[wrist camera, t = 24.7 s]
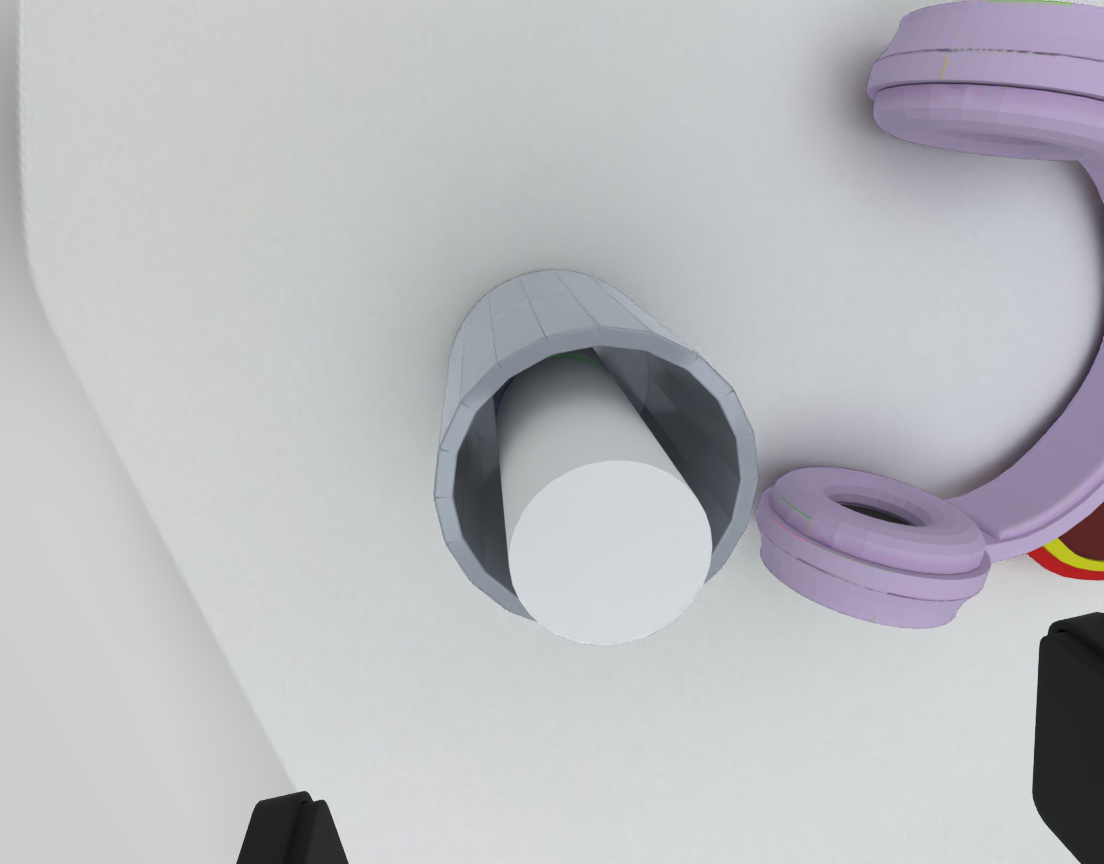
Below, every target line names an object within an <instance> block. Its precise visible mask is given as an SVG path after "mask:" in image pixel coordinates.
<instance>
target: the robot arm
mask: <svg viewBox="0 0 1104 864" xmlns="http://www.w3.org/2000/svg"><path fill="white" fill-rule="evenodd" d="M1032 793H1033V800H1034V803H1035V806H1036V808H1037V811H1038V813H1039V815H1040V816H1041V818H1042V820H1043V821H1044V822H1045V824H1046V825H1047V826H1048V827H1049V828H1050V829H1051V831H1052V832H1053V833H1054V834H1055V835H1056V836H1057V837H1058V838H1059V840H1060V841H1061V842H1062V843H1063V844H1064V845H1065V846H1066V847H1067V849H1068V850H1069V851H1070V852H1071V853H1072V854H1073V855H1074V856H1075V857H1076V859H1077V860H1078V861H1079V862H1080V863H1081V864H1104V613H1100V612H1095V613H1091V614H1086V615H1082V616H1077V617H1073V618H1068V619H1064V620H1060V621H1056V622H1054V623H1052V625H1051V626H1050V627H1049V631H1048V635H1047V636H1044V637H1043V638H1042V639H1041V641H1040V646H1039V665H1038V685H1037V706H1036V726H1035V747H1034V767H1033V788H1032ZM236 864H349V863H348V861H347V858H346V855H345V852H344V849H343V847H342V844H341V841H340V838H339V835H338V833H337V830H336V827H335V824H334V821H333V819H332V816H331V813H330V810H329V807H328V805H327V803H326V802H325V801H324V800H319V801H314V802H313V800H312V798H311V796H310V795H309V793H308V792H307V791H302V792H297V793H293V794H288V795H285V796H280V797H275V798H271V799H266V800H262V801H259V802H258V803H257V805H256V806H255V808H254V811H253V813H252V816H251V820H250V823H249V826H248V829H247V832H246V835H245V839H244V842H243V845H242V848H241V851H240V854H239V857H238V860H237V863H236Z"/></svg>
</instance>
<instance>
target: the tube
mask: <svg viewBox="0 0 1104 864" xmlns="http://www.w3.org/2000/svg"><path fill="white" fill-rule="evenodd" d="M493 401H494V411H495V422H496V433H497V444H498V454H499V465H500V476H501V486H502V497H503V508H504V519H505V529H506V540H507V551H508V561H509V569H510V574H511V580H512V584H513V587H514V589H515V591H516V594H517V596H518V598H519V600H520V602H521V603H522V605H523V606H524V607H525V609H526V610H527V612H528V613H529V614H530V615H531V616H532V617H533V618H534V619H535V620H536V621H537V622H538V623H539V624H540V625H542V626H543V627H545V628H546V629H548V630H550V631H551V632H553V633H554V634H556V635H558V636H561V637H563V638H566V639H569V640H571V641H574V642H578V643H584V644H591V645H617V644H622V643H627V642H633V641H636V640H639V639H641V638H644V637H647V636H649V635H652V634H653V633H655V632H657V631H659V630H661V629H663V628H664V627H666V626H667V625H669V624H670V623H671V622H672V621H674V620H675V619H676V618H678V617H679V616H680V615H681V614H682V613H683V612H684V611H685V610H686V609H687V607H688V606H689V605H690V604H691V603H692V602H693V601H694V599H695V598H696V596H697V594H698V593H699V591H700V589H701V587H702V586H703V584H704V582H705V579H706V576H707V573H708V570H709V567H710V563H711V554H712V538H711V529H710V525H709V522H708V519H707V516H706V513H705V511H704V509H703V508H702V506H701V504H700V502H699V501H698V499H697V497H696V496H695V494H694V493H693V492H692V490H691V489H690V487H689V486H688V484H687V483H686V482H685V480H684V479H683V477H682V476H681V474H680V473H679V471H678V470H677V469H676V467H675V466H674V464H673V463H672V461H671V460H670V458H669V457H668V456H667V454H666V453H665V451H664V450H663V448H662V447H661V446H660V444H659V443H658V441H657V440H656V438H655V437H654V435H653V434H652V433H651V431H650V430H649V428H648V427H647V425H646V424H645V422H644V421H643V420H642V418H641V417H640V415H639V414H638V412H637V411H636V410H635V408H634V407H633V405H632V404H631V402H630V401H629V399H628V398H627V397H626V395H625V394H624V392H623V391H622V389H621V388H620V386H619V385H618V383H617V382H616V381H615V379H614V378H613V376H612V375H611V373H610V372H609V371H608V369H607V368H606V366H605V365H604V363H603V362H602V360H601V359H600V358H599V356H598V355H597V353H596V352H595V350H594V349H593V347H590V348H585V349H579V350H574V351H569V352H564V353H559V354H554V355H551V356H549V357H547V358H546V359H544V360H542V361H540V362H538V363H536V364H535V365H533V366H531V367H529V368H527V369H525V370H524V371H522V372H520V373H518V374H516V375H514V376H513V377H511V378H509V379H508V380H507V381H506V382H505V383H504V384H503V386H502V387H501V388H500V389H499V390H498V391H497V392H496V393H495V394H494V395H493Z"/></svg>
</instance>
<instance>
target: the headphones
mask: <svg viewBox="0 0 1104 864" xmlns="http://www.w3.org/2000/svg"><path fill="white" fill-rule="evenodd" d="M866 94H867V96H868V97H869V98H871V99H872V100H874V101H875V102H874V107H873V117H874V119H875V121H876V123H877V124H878V126H879V127H880V128H882V129H883V130H884V131H886V132H888V133H889V134H891V135H892V136H894V137H897V138H899V139H902V140H905V141H909V142H913V143H917V144H921V145H926V146H931V147H936V148H941V149H948V150H954V151H960V152H967V153H975V154H982V155H991V156H1000V157H1010V158H1023V159H1036V160H1078V161H1079V163H1080V164H1081V165H1082V166H1083V167H1084V168H1085V169H1086V170H1087V171H1088V173H1089V175H1090V177H1091V178H1092V180H1093V182H1094V183H1095V185H1096V187H1097V189H1098V192H1099V194H1100V197H1101V199H1102V202H1103V205H1104V8H1102V7H1097V6H1091V5H1084V4H1076V3H1068V2H1057V1H1044V0H971V1H961V2H952V3H945V4H939V5H934V6H929V7H925V8H922V9H919V10H916V11H913V12H911V13H909V14H907V15H906V16H904V17H903V18H902V20H901V21H900V25H899V29H898V31H897V33H896V35H895V36H894V38H893V40H892V42H891V44H890V45H889V47H888V48H887V50H886V51H885V52H884V53H883V54H882V55H881V56H880V58H879V59H878V60H877V61H876V62H875V63H874V65H873V66H872V70H871V74H870V78H869V82H868V86H867V89H866ZM756 521H757V524H758V527H759V530H760V533H761V540H762V545H761V549H760V555H761V558H762V561H763V563H764V564H765V566H766V567H767V568H768V570H769V571H770V572H771V573H772V574H773V575H774V576H775V577H776V578H778V579H779V580H780V581H781V582H782V583H784V584H785V585H787V586H788V587H789V588H791V589H792V590H794V591H796V592H797V593H799V594H801V595H802V596H804V597H806V598H808V599H810V600H812V601H814V602H816V603H818V604H820V605H823V606H825V607H827V608H829V609H832V610H835V611H837V612H840V613H842V614H845V615H848V616H851V617H854V618H857V619H861V620H865V621H869V622H872V623H877V624H882V625H887V626H893V627H900V628H913V629H920V628H933V627H938V626H942V625H945V624H947V623H949V622H950V621H952V620H953V619H954V617H955V616H956V613H957V610H958V609H959V608H960V607H961V606H962V604H963V603H964V602H965V601H967V600H968V599H970V598H971V597H973V596H974V595H976V594H977V593H979V592H980V590H981V589H982V588H983V585H984V583H985V580H986V577H987V575H988V572H989V569H990V566H991V563H993V562H998V561H1002V560H1006V559H1010V558H1013V557H1016V556H1020V555H1023V554H1028V555H1029V556H1030V557H1031V558H1033V559H1034V560H1035V561H1036V562H1037V563H1039V564H1040V565H1041V566H1042V567H1044V568H1045V569H1047V570H1049V571H1051V572H1054V573H1056V574H1058V575H1061V576H1063V577H1069V578H1074V579H1082V580H1104V337H1103V340H1102V344H1101V347H1100V350H1099V352H1098V354H1097V356H1096V359H1095V361H1094V363H1093V365H1092V367H1091V370H1090V372H1089V373H1088V375H1087V377H1086V379H1085V380H1084V382H1083V384H1082V385H1081V387H1080V389H1079V390H1078V392H1077V393H1076V395H1075V396H1074V398H1073V399H1072V401H1071V402H1070V404H1069V405H1068V406H1067V408H1066V409H1065V411H1064V412H1063V414H1062V415H1061V416H1060V417H1059V418H1058V419H1057V421H1056V422H1055V423H1054V424H1053V425H1052V426H1051V427H1050V429H1049V430H1048V431H1047V432H1046V433H1045V434H1044V435H1043V436H1042V438H1041V439H1040V440H1039V441H1038V442H1037V443H1036V444H1035V445H1034V446H1033V447H1032V448H1031V449H1030V450H1029V451H1028V452H1027V453H1026V454H1025V455H1024V456H1023V457H1022V458H1021V459H1020V460H1018V461H1017V462H1016V463H1015V464H1014V465H1013V466H1012V467H1010V468H1009V469H1008V470H1006V471H1005V472H1003V473H1002V474H1001V475H999V476H998V477H996V478H995V479H993V480H992V481H990V482H988V483H986V484H985V485H983V486H981V487H979V488H977V489H975V490H974V491H971V492H969V493H967V494H964V495H962V496H959V497H957V498H949V499H947V500H943V499H941V498H939V497H937V496H935V495H933V494H931V493H929V492H927V491H924V490H921V489H919V488H916V487H914V486H911V485H909V484H906V483H903V482H900V481H896V480H893V479H890V478H887V477H883V476H879V475H875V474H871V473H867V472H862V471H856V470H851V469H844V468H834V467H808V468H801V469H796V470H792V471H791V472H789V473H787V474H785V475H784V476H782V477H781V478H779V479H778V480H777V481H776V483H775V485H774V486H771V487H769V488H767V489H766V490H765V491H764V492H763V493H762V495H761V498H760V502H759V506H758V510H757V513H756Z"/></svg>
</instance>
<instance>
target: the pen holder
mask: <svg viewBox="0 0 1104 864" xmlns="http://www.w3.org/2000/svg"><path fill="white" fill-rule="evenodd" d="M590 347H593V349H594V350H595V352H596V353H597V355H598V356H599V358H600V359H601V360H602V362H603V363H604V365H605V366H606V368H607V369H608V371H609V372H610V373H611V375H612V376H613V378H614V379H615V381H616V382H617V383H618V385H619V386H620V388H621V389H622V391H623V392H624V394H625V395H626V397H627V398H628V399H629V401H630V402H631V404H632V405H633V407H634V408H635V410H636V411H637V412H638V414H639V415H640V417H641V418H642V420H643V421H644V422H645V424H646V425H647V427H648V428H649V430H650V431H651V433H652V434H653V435H654V437H655V438H656V440H657V441H658V443H659V444H660V446H661V447H662V448H663V450H664V451H665V453H666V454H667V456H668V457H669V458H670V460H671V461H672V463H673V464H674V466H675V467H676V469H677V470H678V471H679V473H680V474H681V476H682V477H683V479H684V480H685V482H686V483H687V484H688V486H689V487H690V489H691V490H692V492H693V493H694V494H695V496H696V497H697V499H698V501H699V502H700V504H701V506H702V508H703V509H704V511H705V513H706V516H707V519H708V522H709V525H710V529H711V538H712V554H711V563H710V567H709V570H708V573H707V576H706V579H705V582H704V584H705V583H706V582H707V581H708V580H709V579H710V578H711V577H712V576H713V575H715V574H716V573H717V572H718V571H719V570H720V569H721V568H722V567H723V565H724V564H725V563H726V561H727V559H728V558H729V556H730V554H731V553H732V551H733V549H734V548H735V546H736V544H737V543H738V541H739V539H740V538H741V536H742V534H743V532H744V531H745V529H746V527H747V525H748V523H749V518H750V514H751V510H752V505H753V501H754V497H755V493H756V488H757V484H758V468H757V458H756V447H755V437H754V433H753V429H752V427H751V425H750V422H749V420H748V418H747V416H746V414H745V412H744V410H743V407H742V405H741V403H740V401H739V399H738V397H737V395H736V393H735V391H734V390H733V388H732V387H731V386H730V385H729V384H728V383H727V382H726V381H725V380H724V379H723V378H722V377H721V376H720V375H719V374H718V373H717V372H716V371H715V369H714V368H713V367H712V366H711V365H710V364H709V363H708V362H707V361H706V360H705V359H704V358H703V357H702V356H701V355H699V354H698V353H697V352H695V351H694V350H693V349H692V348H690V347H689V346H688V345H687V344H685V343H684V342H683V341H682V340H680V339H679V338H678V337H677V336H675V335H674V334H673V333H672V332H670V331H669V330H668V329H667V328H665V327H664V326H663V325H662V324H660V323H659V322H658V321H656V320H655V319H654V318H653V317H651V316H650V315H649V314H648V313H646V312H645V311H644V310H643V309H641V308H640V307H639V306H638V305H636V304H635V303H634V302H633V301H631V300H630V299H629V298H628V297H626V296H625V295H624V294H622V293H621V292H620V291H618V290H616V289H614V288H613V287H611V286H609V285H608V284H606V283H604V282H603V281H601V280H598V279H596V278H594V277H591V276H589V275H585V274H582V273H578V272H573V271H566V270H544V271H536V272H532V273H528V274H524V275H520V276H518V277H516V278H513V279H511V280H508V281H506V282H505V283H503V284H501V285H499V286H498V287H496V288H494V289H493V290H492V291H491V292H489V293H488V294H487V295H485V296H484V297H483V298H482V299H481V300H480V301H479V302H478V303H477V304H476V305H475V306H474V307H473V309H472V310H471V311H470V312H469V314H468V315H467V316H466V318H465V320H464V321H463V323H462V325H461V327H460V328H459V330H458V333H457V335H456V338H455V340H454V343H453V347H452V350H451V353H450V358H449V366H448V374H447V382H446V390H445V398H444V406H443V414H442V422H441V430H440V438H439V446H438V455H437V465H436V475H435V485H434V502H435V506H436V510H437V514H438V518H439V522H440V526H441V530H442V534H443V538H444V541H445V543H446V546H447V547H448V549H449V550H450V552H451V553H452V555H453V556H454V558H455V559H456V561H457V562H458V564H459V565H460V567H461V568H462V570H463V571H464V573H465V574H466V576H467V577H468V579H469V580H470V581H471V582H472V584H474V585H475V586H476V587H477V588H479V589H480V590H481V591H483V592H484V593H485V594H486V595H488V596H489V597H490V598H492V599H493V600H494V601H495V602H497V603H498V604H499V605H501V606H502V607H503V608H504V609H506V610H508V611H509V612H512V613H514V614H517V615H520V616H522V617H525V618H528V619H531V620H533V621H536V620H535V619H534V618H533V617H532V616H531V615H530V614H529V613H528V612H527V610H526V609H525V607H524V606H523V605H522V603H521V602H520V600H519V598H518V596H517V594H516V591H515V589H514V587H513V584H512V580H511V574H510V569H509V561H508V551H507V540H506V529H505V519H504V508H503V497H502V486H501V476H500V465H499V454H498V444H497V433H496V422H495V411H494V401H493V395H494V394H495V393H496V392H497V391H498V390H499V389H500V388H501V387H502V386H503V384H504V383H505V382H506V381H507V380H508V379H509V378H511V377H513V376H514V375H516V374H518V373H520V372H522V371H524V370H525V369H527V368H529V367H531V366H533V365H535V364H536V363H538V362H540V361H542V360H544V359H546V358H547V357H549V356H551V355H554V354H559V353H564V352H569V351H574V350H579V349H585V348H590ZM704 584H703V585H704ZM536 622H537V621H536Z"/></svg>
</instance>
